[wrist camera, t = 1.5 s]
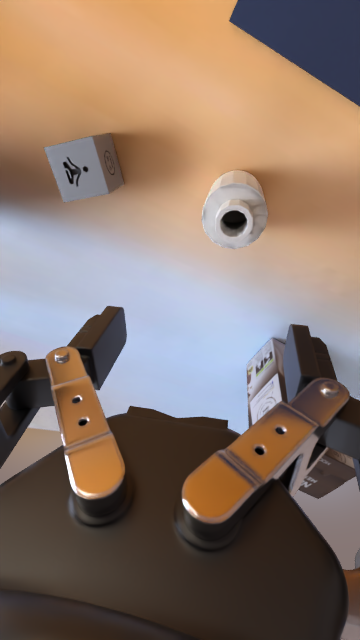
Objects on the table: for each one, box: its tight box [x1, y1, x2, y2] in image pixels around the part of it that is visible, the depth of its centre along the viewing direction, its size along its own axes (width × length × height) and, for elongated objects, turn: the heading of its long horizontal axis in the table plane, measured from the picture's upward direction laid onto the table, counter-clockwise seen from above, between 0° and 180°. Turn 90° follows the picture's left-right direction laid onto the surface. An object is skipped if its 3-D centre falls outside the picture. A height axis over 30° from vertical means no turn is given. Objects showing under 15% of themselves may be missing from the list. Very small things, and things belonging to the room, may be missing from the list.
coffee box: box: [247, 338, 356, 499], centre depth 39 cm, size 9×6×16 cm
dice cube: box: [44, 133, 124, 202], centre depth 33 cm, size 5×5×5 cm
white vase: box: [202, 170, 268, 249], centre depth 31 cm, size 6×6×10 cm
